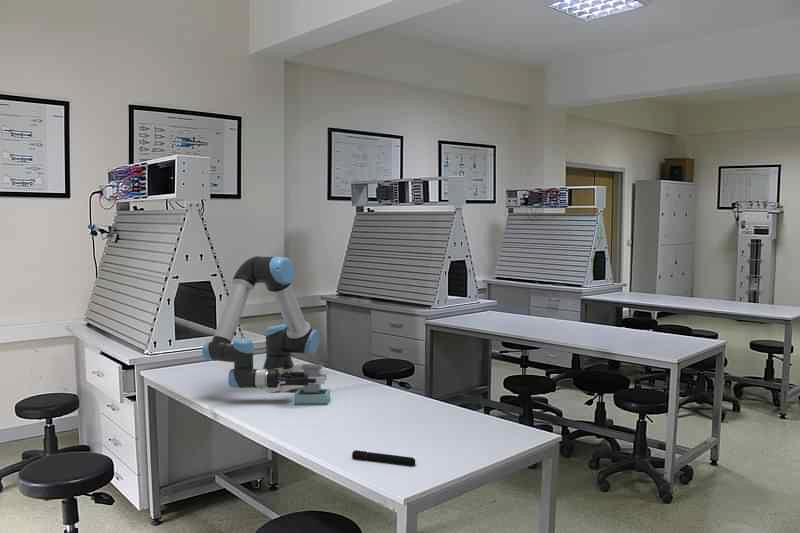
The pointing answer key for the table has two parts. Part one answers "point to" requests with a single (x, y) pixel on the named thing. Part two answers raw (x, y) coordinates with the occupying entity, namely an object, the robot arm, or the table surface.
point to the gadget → (383, 458)
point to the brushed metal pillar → (312, 371)
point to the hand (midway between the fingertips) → (325, 378)
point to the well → (312, 398)
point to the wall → (287, 387)
